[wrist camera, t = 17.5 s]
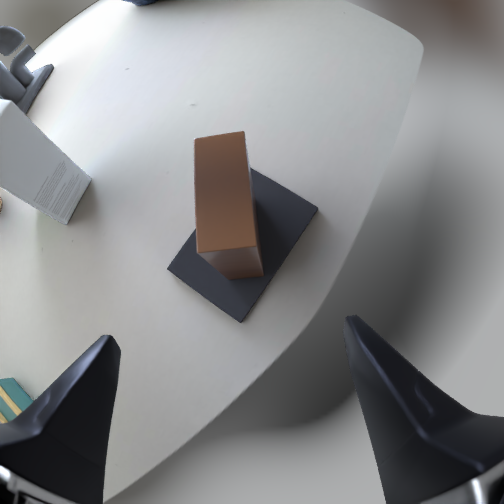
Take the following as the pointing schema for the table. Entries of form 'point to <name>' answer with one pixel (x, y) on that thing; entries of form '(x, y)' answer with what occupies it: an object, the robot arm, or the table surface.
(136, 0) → the bowl
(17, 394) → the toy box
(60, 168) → the cosmetic box
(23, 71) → the faucet
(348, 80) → the table surface
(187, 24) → the table surface
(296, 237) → the mat
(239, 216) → the block
